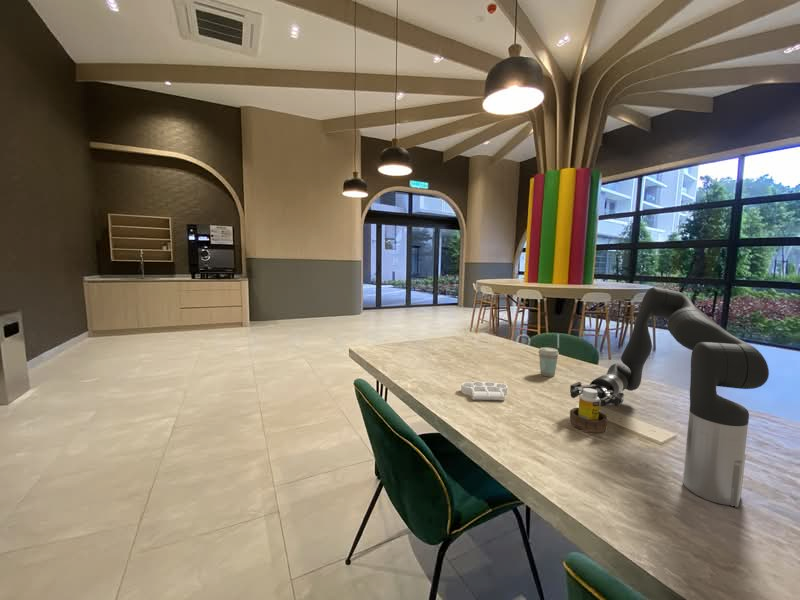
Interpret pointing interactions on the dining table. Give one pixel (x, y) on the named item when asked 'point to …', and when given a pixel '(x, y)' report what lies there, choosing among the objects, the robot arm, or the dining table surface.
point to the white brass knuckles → (485, 390)
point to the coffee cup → (548, 361)
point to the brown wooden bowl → (588, 422)
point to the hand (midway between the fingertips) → (586, 399)
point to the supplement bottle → (589, 404)
